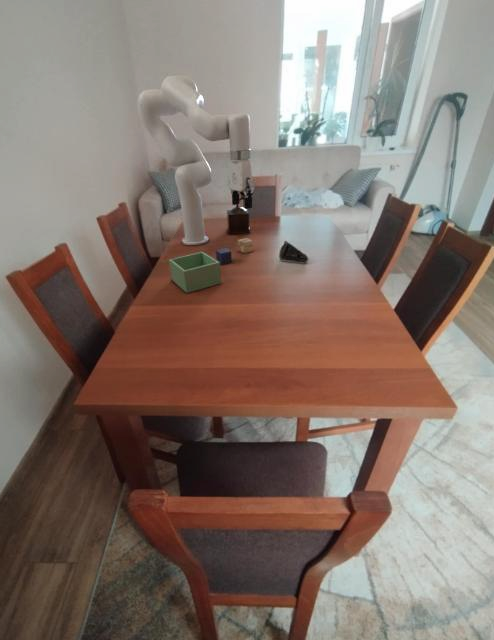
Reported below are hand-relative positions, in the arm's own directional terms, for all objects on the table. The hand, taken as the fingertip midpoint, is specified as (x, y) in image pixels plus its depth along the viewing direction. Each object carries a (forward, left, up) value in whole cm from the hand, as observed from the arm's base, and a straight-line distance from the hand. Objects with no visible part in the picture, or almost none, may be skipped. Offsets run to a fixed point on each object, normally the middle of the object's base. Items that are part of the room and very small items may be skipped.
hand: (242, 206), depth 132 cm
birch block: (0, +1, -18) cm, 18 cm away
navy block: (+6, -13, -18) cm, 23 cm away
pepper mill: (-29, +15, -18) cm, 38 cm away
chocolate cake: (+21, +12, -18) cm, 30 cm away
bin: (+17, -31, -18) cm, 39 cm away
